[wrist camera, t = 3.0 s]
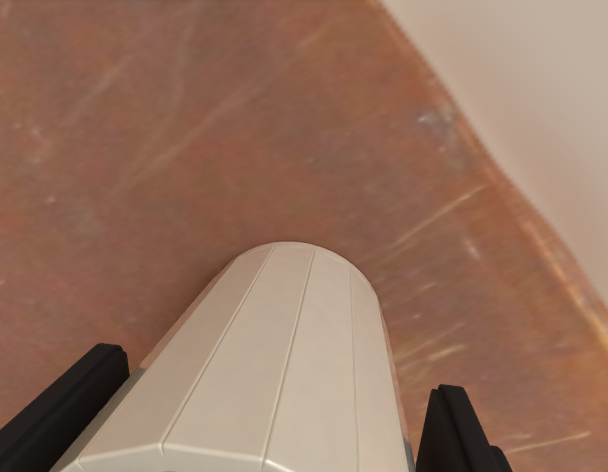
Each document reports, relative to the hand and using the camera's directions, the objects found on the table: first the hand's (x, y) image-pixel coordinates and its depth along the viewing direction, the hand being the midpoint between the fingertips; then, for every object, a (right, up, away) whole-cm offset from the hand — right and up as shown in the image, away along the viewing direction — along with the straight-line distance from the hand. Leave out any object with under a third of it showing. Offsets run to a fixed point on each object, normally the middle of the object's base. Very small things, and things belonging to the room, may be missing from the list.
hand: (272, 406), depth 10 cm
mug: (0, 0, +4) cm, 4 cm away
